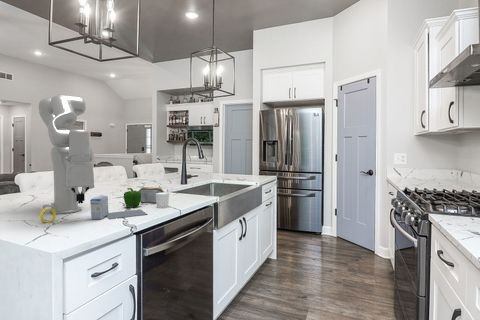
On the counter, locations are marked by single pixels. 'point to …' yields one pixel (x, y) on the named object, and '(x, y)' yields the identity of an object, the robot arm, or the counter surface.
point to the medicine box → (99, 207)
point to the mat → (125, 214)
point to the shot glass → (162, 199)
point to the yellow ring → (43, 213)
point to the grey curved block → (149, 194)
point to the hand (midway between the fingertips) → (80, 202)
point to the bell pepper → (132, 198)
